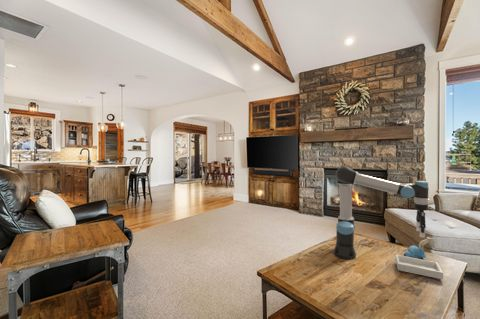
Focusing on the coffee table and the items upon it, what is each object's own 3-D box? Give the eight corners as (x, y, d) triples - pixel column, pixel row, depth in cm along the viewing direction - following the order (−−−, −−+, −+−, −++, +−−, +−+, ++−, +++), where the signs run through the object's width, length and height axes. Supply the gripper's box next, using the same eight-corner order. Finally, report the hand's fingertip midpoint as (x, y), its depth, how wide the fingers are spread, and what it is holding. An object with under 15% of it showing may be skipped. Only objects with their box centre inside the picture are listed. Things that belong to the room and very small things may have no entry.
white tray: (397, 272, 149) (398, 263, 149) (395, 262, 162) (396, 254, 162) (442, 281, 138) (443, 272, 138) (436, 270, 151) (437, 262, 151)
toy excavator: (436, 265, 158) (437, 240, 157) (408, 263, 161) (409, 238, 160) (428, 260, 166) (429, 236, 165) (402, 257, 170) (403, 234, 169)
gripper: (431, 208, 149) (431, 241, 150) (424, 200, 171) (423, 229, 172) (417, 206, 153) (416, 239, 154) (411, 199, 175) (411, 228, 175)
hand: (420, 234), depth 163 cm, fingers open, 13 cm apart
